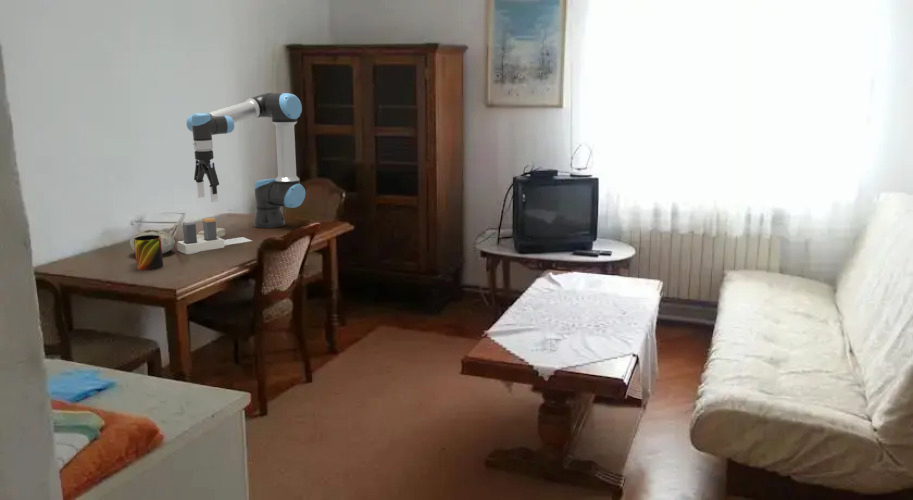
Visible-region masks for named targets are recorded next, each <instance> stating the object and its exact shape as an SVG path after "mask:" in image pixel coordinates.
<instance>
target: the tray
mask: <svg viewBox="0 0 913 500" xmlns="http://www.w3.org/2000/svg"><path fill="white" fill-rule="evenodd" d="M249 242H253V240H251V239H249V238H247V237H243V236H242V237H235V238H228V239H224V246H228V245H235V244H242V243H249Z"/></svg>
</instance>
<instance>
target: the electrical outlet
mask: <svg viewBox="0 0 913 500" xmlns="http://www.w3.org/2000/svg"><path fill="white" fill-rule="evenodd" d="M216 234H217V237H219V238H222V237H224V236H226V229H225V228H222V227H216ZM196 236H197V239H199V238H204V229H203V230H201V231H198V234H197V233H196Z"/></svg>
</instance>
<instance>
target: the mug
mask: <svg viewBox="0 0 913 500" xmlns="http://www.w3.org/2000/svg"><path fill="white" fill-rule="evenodd" d="M134 246H135V251H134V255H135V262H136V266H137V267H136V269H137V270H139V271H154V270H158V269H159V270H160V269H162V268H163V267H164V260H163V258H164V257H163V254H162V247H161V237H160V236H158V235H145V236H139V237H136V238H135V239H134Z"/></svg>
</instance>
